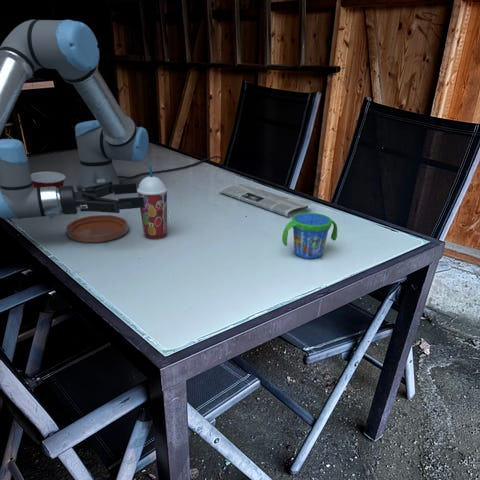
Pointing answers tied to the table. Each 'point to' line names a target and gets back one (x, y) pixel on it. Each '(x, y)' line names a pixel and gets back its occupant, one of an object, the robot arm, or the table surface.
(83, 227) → the plate
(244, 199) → the newspaper
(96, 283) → the table surface
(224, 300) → the table surface
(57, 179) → the plastic cup
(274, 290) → the table surface
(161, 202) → the smoothie
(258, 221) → the table surface
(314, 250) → the snack cup
